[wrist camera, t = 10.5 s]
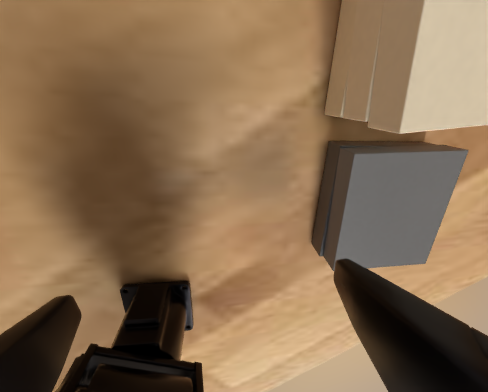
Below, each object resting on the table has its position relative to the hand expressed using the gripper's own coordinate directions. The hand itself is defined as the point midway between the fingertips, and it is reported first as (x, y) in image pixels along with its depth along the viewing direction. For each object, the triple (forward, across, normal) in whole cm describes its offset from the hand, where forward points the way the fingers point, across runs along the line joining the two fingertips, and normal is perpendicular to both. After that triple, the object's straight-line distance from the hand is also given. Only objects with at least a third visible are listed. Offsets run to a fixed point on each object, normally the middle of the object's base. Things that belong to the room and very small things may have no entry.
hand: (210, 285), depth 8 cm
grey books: (+12, -13, +3) cm, 18 cm away
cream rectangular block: (+7, -12, -8) cm, 16 cm away
